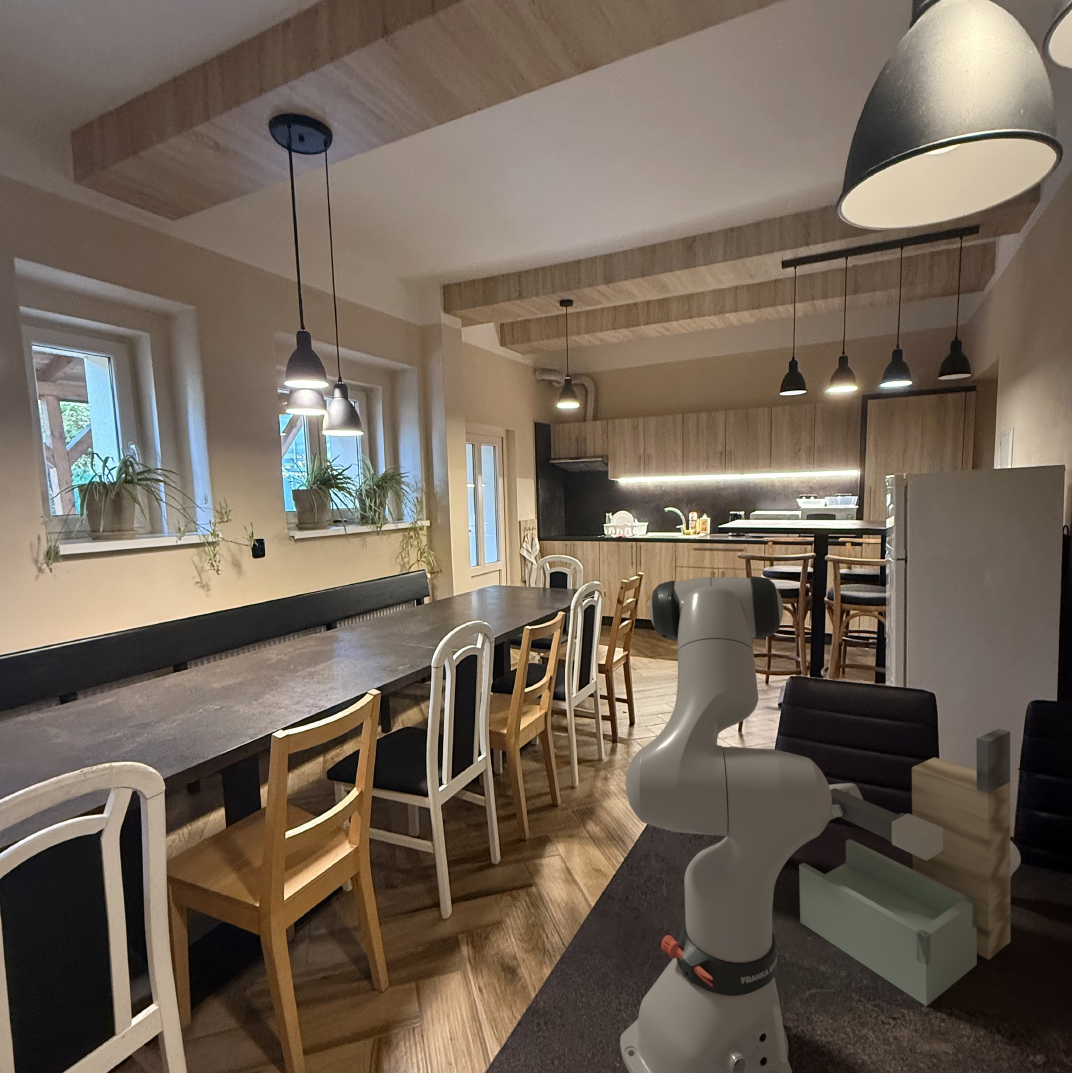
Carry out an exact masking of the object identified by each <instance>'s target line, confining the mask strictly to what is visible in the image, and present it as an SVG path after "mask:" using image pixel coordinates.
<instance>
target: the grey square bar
mask: <svg viewBox="0 0 1072 1073" xmlns="http://www.w3.org/2000/svg"><path fill="white" fill-rule="evenodd" d="M830 791H831V796H832V804H836V803H842V804H843V805H844V809H845V810H846V814H844V815H843V816H841V817H840V818H841V819H843V820H845V821H848V822H850V823H851V824H853V825H856V826H858V827H860V828H862V829H865V830H867V831H869V832H871V833H873V834H875V835H878V836H879V837H881V838H884V839H886V840H887V841H888V842H890V843H891V845H892V846H895V847H897V848H899V849H901V850H903V851H905V852H907V853H909V854H911V855H913V854H914V855H916V856H918V857H920V858H922V859H924V860H926V861H927V860H929V859H930V858H932V857H933V856H935V855H937V854H938V853H940V852H941V851H943V828H942V827H940V826H937V825H935V824H933V823H930V822H928V821H925V820H923V819H921V818H918V817H916V816H913V815H912V814H911V813H904V812H900V813H898V814H897V813H895V812H892V811H890V810H888V809H885V808H883V807H881V806H878V805H876V804H874V803H871V802H869V801H866V800H864V799H863V800H862V799H860V798H858V797H855V796H853V795H850V794H848V793H846V792H843V791H841V790H839V789H836V788H833V789H831V790H830Z"/></svg>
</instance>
